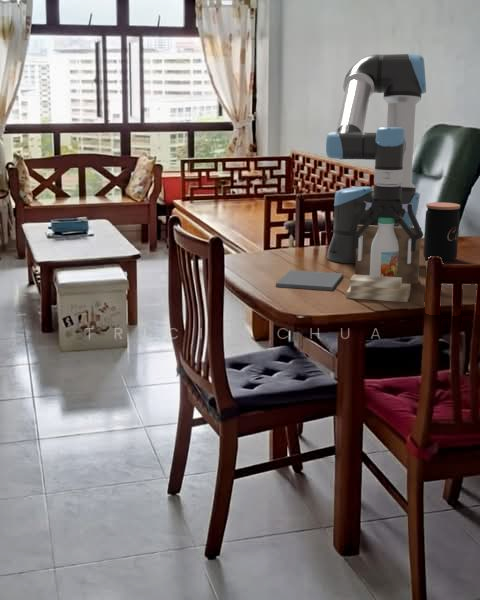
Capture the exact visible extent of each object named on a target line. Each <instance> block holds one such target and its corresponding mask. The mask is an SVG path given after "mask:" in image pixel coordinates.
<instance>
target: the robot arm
mask: <svg viewBox="0 0 480 600" xmlns="http://www.w3.org/2000/svg"><path fill="white" fill-rule="evenodd" d="M425 68H426V67H425V58H424V57H423V56H422V55H420V54H412V53H401V54H400V53H399V54H372V55H368V56H366V57H365V56H364V57H363V58H362V59H360V60H359V61H357V62H356V63H355V64H354V65H353V66H351V68H350V69H349V70H348V72H347V74H346V75H345V77H344V81H343V87H342V88H343V91H344V95H343V100H342V104H341V110H340V114H339V119H338V123H337V126H336V127H337V128H336V131H332V132H331V131H330V132H329V133H328V134H327V135H326V141H325V152H326V156H327V158H329V159H334V160H335V159H336V160H338V159H339V160H370V161H371V160H373V161H375V162H374V175H373V183H374V184H375V185H374V186H373V189H372V187H371V186H369V185H368V186H367V185H366V186H352V187H346V188H342V189H338V190H337V191H336V192H335V193H334V204H333V206H334V207H333V210H334V211H333V212H334V213H333V234H332V237H331V241H330V243H329V247H328V250H327V253H326V254H327V256H326V257H327V260H329V261H332V262H337V263H342V264H356V248H358V261H361V260H362V245H363V236H360V235H361V233H362V232H363V231H364V230H365V229H366V228H367V227H368V226H369V225H374V226H378V218H379V217H388V218H395V222H394V224H395V225H394V227H402V228H403V229H404V230H405V231H406V233H407V234H408V235H409V237H410V238H411V239H409V240H408V259H407V264H410V263H411V251H413V252H414V251H415V249H416V240H417V239H419V238H421V239H422V238H423V236H424V233H423V230H422V227H421V226H420V224H419V222H418V219H417V215H418V214H417V213H418V209H419V203H420V197H421V193H419V192H417V191H416V189H417V187H416V185H415V184H414V183H413V182H412V177H413V175H412V174H413V158H414V157H413V156H414V155H413V154H414V143H415V142H414V140H415V127H416V126H415V122H416V108H417V107H416V106H417V104H418V103H419V102H420V101H421V100H422V94H423V95H424V94H425V93H427V82H426V80H427V79H426V69H425ZM375 93H378V94H383V100H384V101H385V102H386V103H387V114H386V115H387V116H386V126H383V127H382V126H380V127H378V128H377V129H376V132H364V128H365V123H366V117H367V113H368V112H367V111H368V106H369V101H370V97H371V96H372V95H373V94H375ZM358 225H363V226H362V227H361V228H360V229H359V230H358V231H357V226H358ZM410 227H414V228H415V231H416V233H417V234H415V233H414V232H413V231H412V230H411V228H410Z"/></svg>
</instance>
